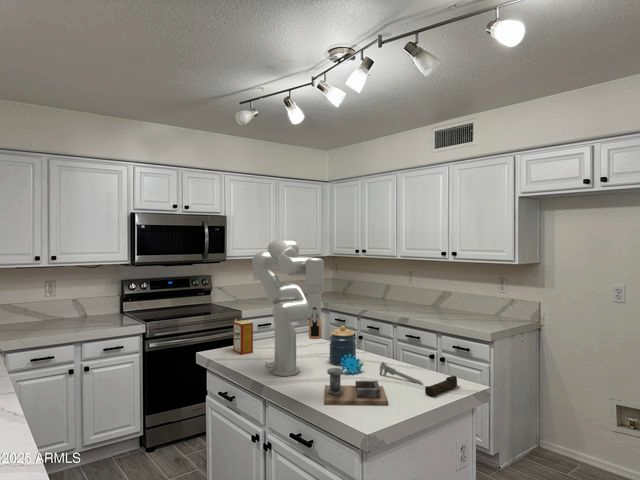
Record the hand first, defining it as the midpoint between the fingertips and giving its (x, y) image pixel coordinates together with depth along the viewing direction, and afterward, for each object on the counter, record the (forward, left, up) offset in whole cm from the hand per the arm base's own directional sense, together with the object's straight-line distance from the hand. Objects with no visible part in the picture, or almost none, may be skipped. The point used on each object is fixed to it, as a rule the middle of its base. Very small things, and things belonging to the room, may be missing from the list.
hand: (315, 334), depth 175 cm
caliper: (+36, +13, -22) cm, 44 cm away
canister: (+12, +38, -22) cm, 45 cm away
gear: (+16, +22, -22) cm, 35 cm away
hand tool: (+50, 0, -22) cm, 55 cm away
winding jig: (+16, -8, -22) cm, 28 cm away
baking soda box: (-40, +55, -22) cm, 71 cm away
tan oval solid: (0, 0, -2) cm, 2 cm away
